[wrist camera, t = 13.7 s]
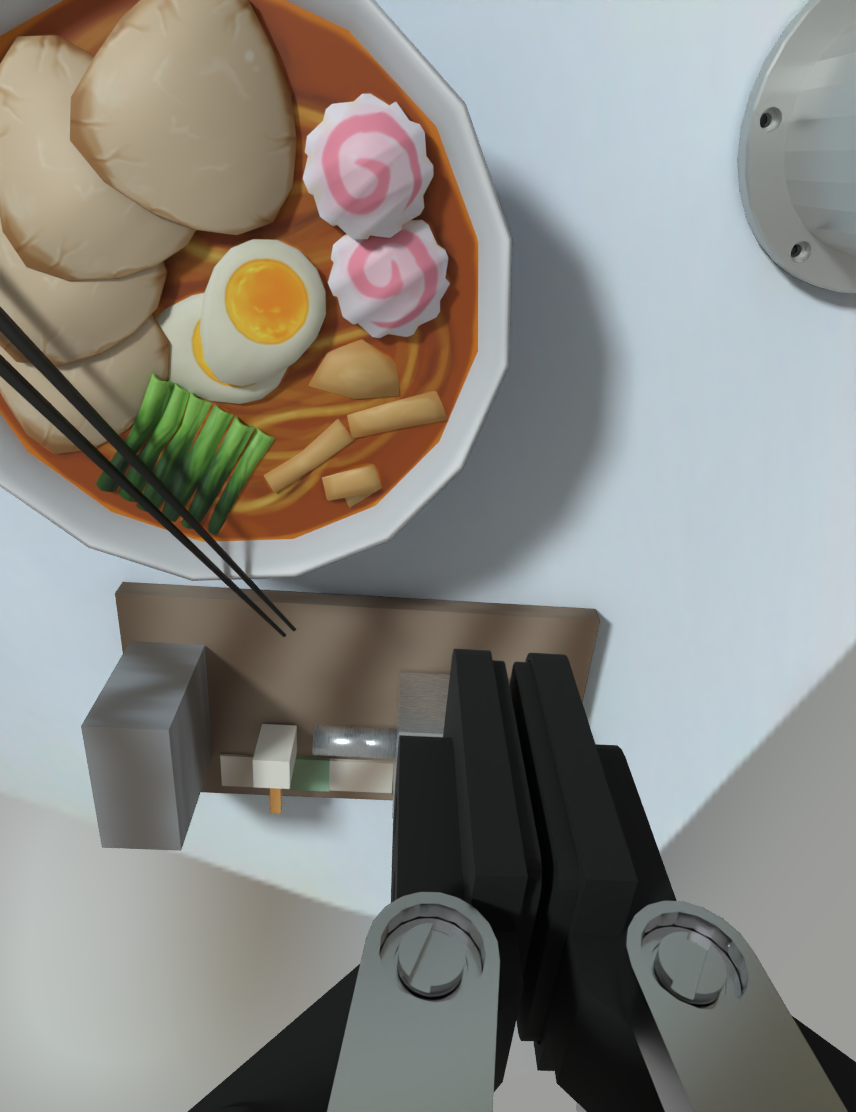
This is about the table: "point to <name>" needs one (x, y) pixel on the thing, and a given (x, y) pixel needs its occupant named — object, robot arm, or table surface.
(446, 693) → the gauge plunger
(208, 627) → the bench
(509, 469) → the table surface
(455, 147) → the ramen bowl
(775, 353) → the table surface
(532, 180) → the table surface
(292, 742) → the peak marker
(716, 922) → the robot arm
